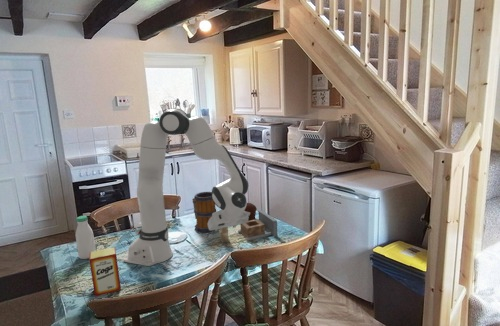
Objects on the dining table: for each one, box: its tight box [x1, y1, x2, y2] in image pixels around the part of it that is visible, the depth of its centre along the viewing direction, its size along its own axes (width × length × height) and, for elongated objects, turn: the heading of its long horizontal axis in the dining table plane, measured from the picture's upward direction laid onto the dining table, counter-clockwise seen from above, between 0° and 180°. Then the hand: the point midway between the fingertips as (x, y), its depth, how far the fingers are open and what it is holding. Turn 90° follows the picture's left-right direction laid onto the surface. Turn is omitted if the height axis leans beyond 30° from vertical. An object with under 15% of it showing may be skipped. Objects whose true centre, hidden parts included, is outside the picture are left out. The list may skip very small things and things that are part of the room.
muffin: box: [245, 202, 257, 221], centre depth 201 cm, size 12×11×10 cm
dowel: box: [219, 227, 229, 243], centre depth 174 cm, size 4×4×10 cm
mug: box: [192, 191, 217, 235], centre depth 192 cm, size 19×14×20 cm
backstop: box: [237, 209, 278, 241], centre depth 181 cm, size 16×18×9 cm
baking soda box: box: [88, 246, 122, 297], centre depth 135 cm, size 10×6×16 cm
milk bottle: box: [75, 215, 97, 260], centre depth 163 cm, size 8×8×20 cm
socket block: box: [240, 218, 266, 239], centre depth 181 cm, size 10×9×6 cm
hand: (225, 227), depth 172 cm, fingers open, 8 cm apart
